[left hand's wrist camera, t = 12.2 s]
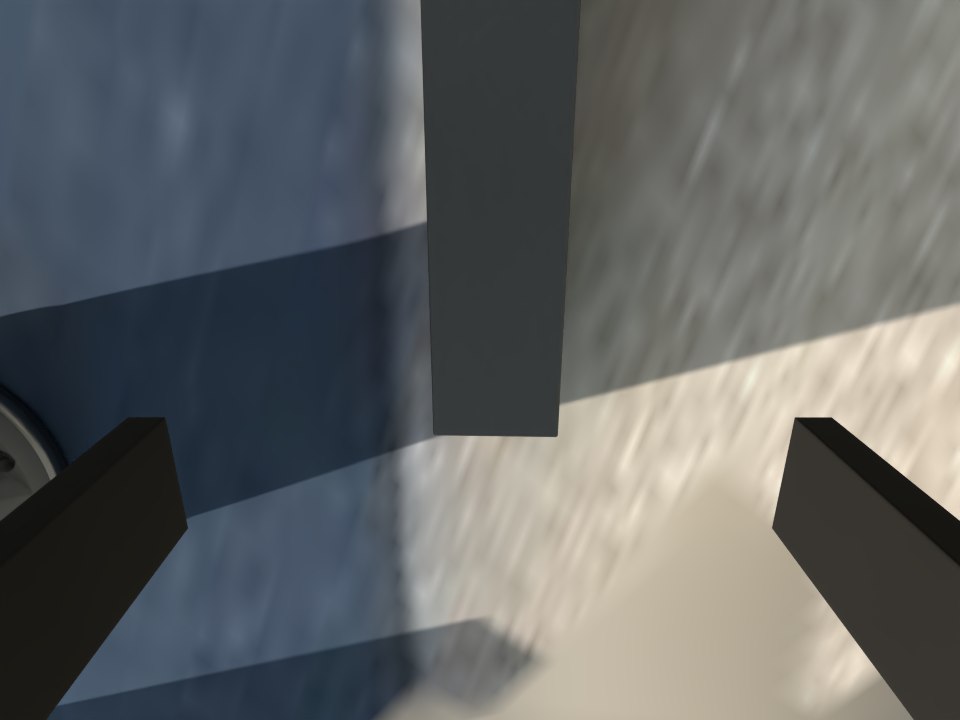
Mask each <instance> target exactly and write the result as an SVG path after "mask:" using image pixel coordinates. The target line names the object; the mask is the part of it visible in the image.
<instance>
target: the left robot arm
mask: <svg viewBox="0 0 960 720" xmlns="http://www.w3.org/2000/svg"><path fill="white" fill-rule="evenodd" d="M187 529H188V526H187V521H186V517H185V512H184V507H183V502H182V497H181V492H180V488H179V483H178V478H177V473H176V468H175V463H174V458H173V454H172V449H171V444H170V439H169V434H168V429H167V425H166V420H165V418H127V419H126V420H125V421H123V422H122V423H121V424H120V425H118V426H117V427H116V428H115V429H113V430H112V431H111V432H110V433H108V434H107V435H106V436H105V437H104V438H102V439H101V440H100V441H99V442H97V443H96V444H95V445H94V446H92V447H91V448H90V449H89V450H87V451H86V452H85V453H84V454H82V455H81V456H80V457H79V458H78V459H76V460H75V461H74V462H73V463H71V464H70V465H69V466H68V467H67V466H66V464H65V461H64V459H63V456H62V454H61V452H60V451H59V449H58V447H57V445H56V443H55V442H54V440H53V439H52V437H51V436H50V434H49V433H48V431H47V430H46V429H45V427H44V426H43V425H42V423H41V422H40V421H39V420H38V419H37V418H36V417H35V416H34V415H33V413H32V412H31V411H30V410H29V409H27V408H26V407H25V406H24V405H23V404H22V403H21V402H20V401H19V400H18V399H16V398H15V397H14V396H13V395H12V394H10V393H9V392H8V391H6V390H5V389H3V388H2V387H1V386H0V720H46V719H47V718H48V716H49V715H50V714H51V712H52V711H53V710H54V708H55V707H56V706H57V704H58V703H59V702H60V700H61V699H62V698H63V696H64V695H65V693H66V692H67V691H68V689H69V688H70V687H71V685H72V684H73V683H74V681H75V680H76V679H77V677H78V676H79V675H80V673H81V672H82V670H83V669H84V668H85V666H86V665H87V664H88V662H89V661H90V660H91V658H92V657H93V656H94V654H95V653H96V652H97V650H98V649H99V648H100V646H101V645H102V643H103V642H104V641H105V639H106V638H107V637H108V635H109V634H110V633H111V631H112V630H113V629H114V627H115V626H116V625H117V623H118V622H119V621H120V619H121V618H122V616H123V615H124V614H125V612H126V611H127V610H128V608H129V607H130V606H131V604H132V603H133V602H134V600H135V599H136V598H137V596H138V595H139V593H140V592H141V591H142V589H143V588H144V587H145V585H146V584H147V583H148V581H149V580H150V579H151V577H152V576H153V575H154V573H155V572H156V571H157V569H158V568H159V566H160V565H161V564H162V562H163V561H164V560H165V558H166V557H167V556H168V554H169V553H170V552H171V550H172V549H173V548H174V546H175V545H176V544H177V542H178V541H179V539H180V538H181V537H182V535H183V534H184V533H185V531H186V530H187ZM772 529H773V530H774V531H775V533H776V534H777V535H778V537H779V538H780V539H781V541H782V542H783V544H784V545H785V546H786V548H787V549H788V550H789V552H790V553H791V554H792V556H793V557H794V558H795V560H796V561H797V562H798V564H799V565H800V566H801V568H802V569H803V571H804V572H805V573H806V575H807V576H808V577H809V579H810V580H811V581H812V583H813V584H814V585H815V587H816V588H817V589H818V591H819V592H820V594H821V595H822V596H823V598H824V599H825V600H826V602H827V603H828V604H829V606H830V607H831V608H832V610H833V611H834V612H835V614H836V615H837V616H838V618H839V619H840V621H841V622H842V623H843V625H844V626H845V627H846V629H847V630H848V631H849V633H850V634H851V635H852V637H853V638H854V639H855V641H856V642H857V643H858V645H859V646H860V648H861V649H862V650H863V652H864V653H865V654H866V656H867V657H868V658H869V660H870V661H871V662H872V664H873V665H874V666H875V668H876V669H877V671H878V672H879V673H880V675H881V676H882V677H883V679H884V680H885V681H886V683H887V684H888V685H889V687H890V688H891V689H892V691H893V692H894V693H895V695H896V696H897V698H898V699H899V700H900V702H901V703H902V704H903V706H904V707H905V708H906V710H907V711H908V712H909V714H910V715H911V716H912V718H913V719H914V720H960V521H959V520H958V519H957V518H956V517H954V516H953V515H952V514H951V513H949V512H948V511H947V510H946V509H944V508H943V507H942V506H941V505H939V504H938V503H937V502H936V501H934V500H933V499H932V498H931V497H930V496H928V495H927V494H926V493H925V492H923V491H922V490H921V489H920V488H918V487H917V486H916V485H915V484H913V483H912V482H911V481H910V480H908V479H907V478H906V477H905V476H904V475H902V474H901V473H900V472H899V471H897V470H896V469H895V468H894V467H892V466H891V465H890V464H889V463H887V462H886V461H885V460H884V459H882V458H881V457H880V456H879V455H878V454H876V453H875V452H874V451H873V450H871V449H870V448H869V447H868V446H866V445H865V444H864V443H863V442H861V441H860V440H859V439H858V438H856V437H855V436H854V435H853V434H852V433H850V432H849V431H848V430H847V429H845V428H844V427H843V426H842V425H840V424H839V423H838V422H837V421H835V420H834V419H833V418H795V420H794V425H793V429H792V434H791V439H790V444H789V449H788V454H787V458H786V463H785V468H784V473H783V478H782V483H781V488H780V492H779V497H778V502H777V507H776V512H775V517H774V521H773V526H772Z"/></svg>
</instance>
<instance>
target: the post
mask: <svg viewBox="0 0 960 720" xmlns="http://www.w3.org/2000/svg"><path fill="white" fill-rule="evenodd" d="M580 4H581V0H421V30H422V63H423V97H424V131H425V164H426V198H427V232H428V265H429V299H430V333H431V366H432V400H433V433H434V435H456V436H524V437H557V435H558V421H559V402H560V383H561V364H562V345H563V326H564V307H565V288H566V269H567V250H568V232H569V213H570V194H571V175H572V156H573V137H574V118H575V99H576V80H577V61H578V42H579V23H580Z"/></svg>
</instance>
